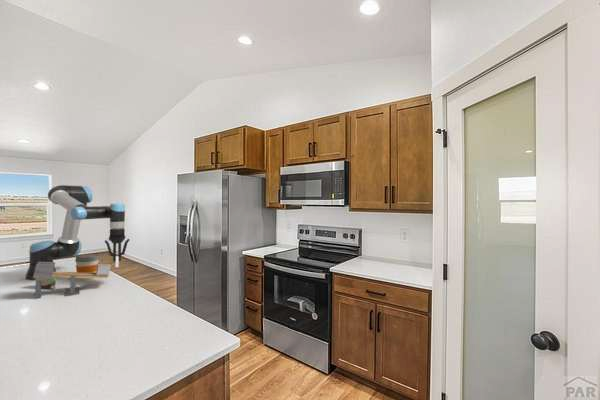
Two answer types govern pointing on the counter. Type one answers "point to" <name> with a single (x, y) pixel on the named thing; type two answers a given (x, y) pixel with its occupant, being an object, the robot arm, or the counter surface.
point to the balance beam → (47, 272)
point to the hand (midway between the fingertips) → (116, 266)
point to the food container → (47, 282)
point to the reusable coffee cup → (87, 264)
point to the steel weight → (103, 269)
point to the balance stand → (69, 291)
